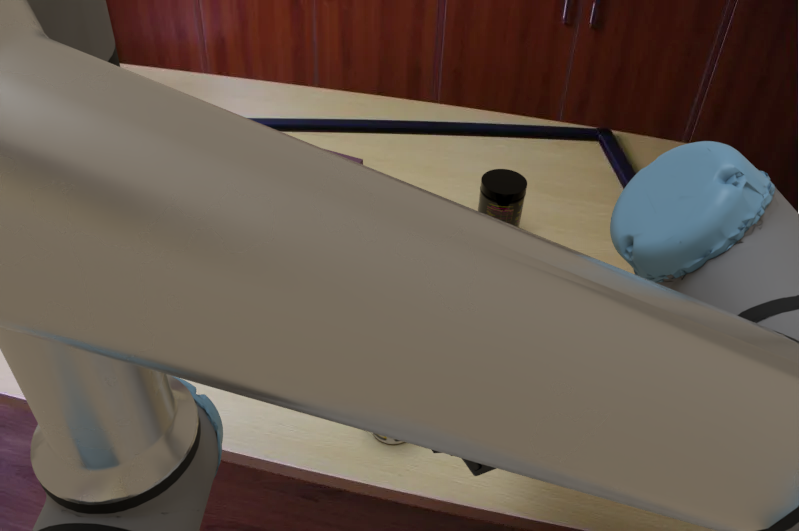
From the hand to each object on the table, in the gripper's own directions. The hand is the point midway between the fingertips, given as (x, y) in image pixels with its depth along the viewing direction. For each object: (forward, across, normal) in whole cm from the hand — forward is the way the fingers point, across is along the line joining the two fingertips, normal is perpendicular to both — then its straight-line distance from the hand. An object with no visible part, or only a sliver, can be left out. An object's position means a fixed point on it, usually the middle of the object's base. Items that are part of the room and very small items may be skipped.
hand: (466, 390), depth 62 cm
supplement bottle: (+15, 0, -3) cm, 16 cm away
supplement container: (+21, +38, +2) cm, 43 cm away
